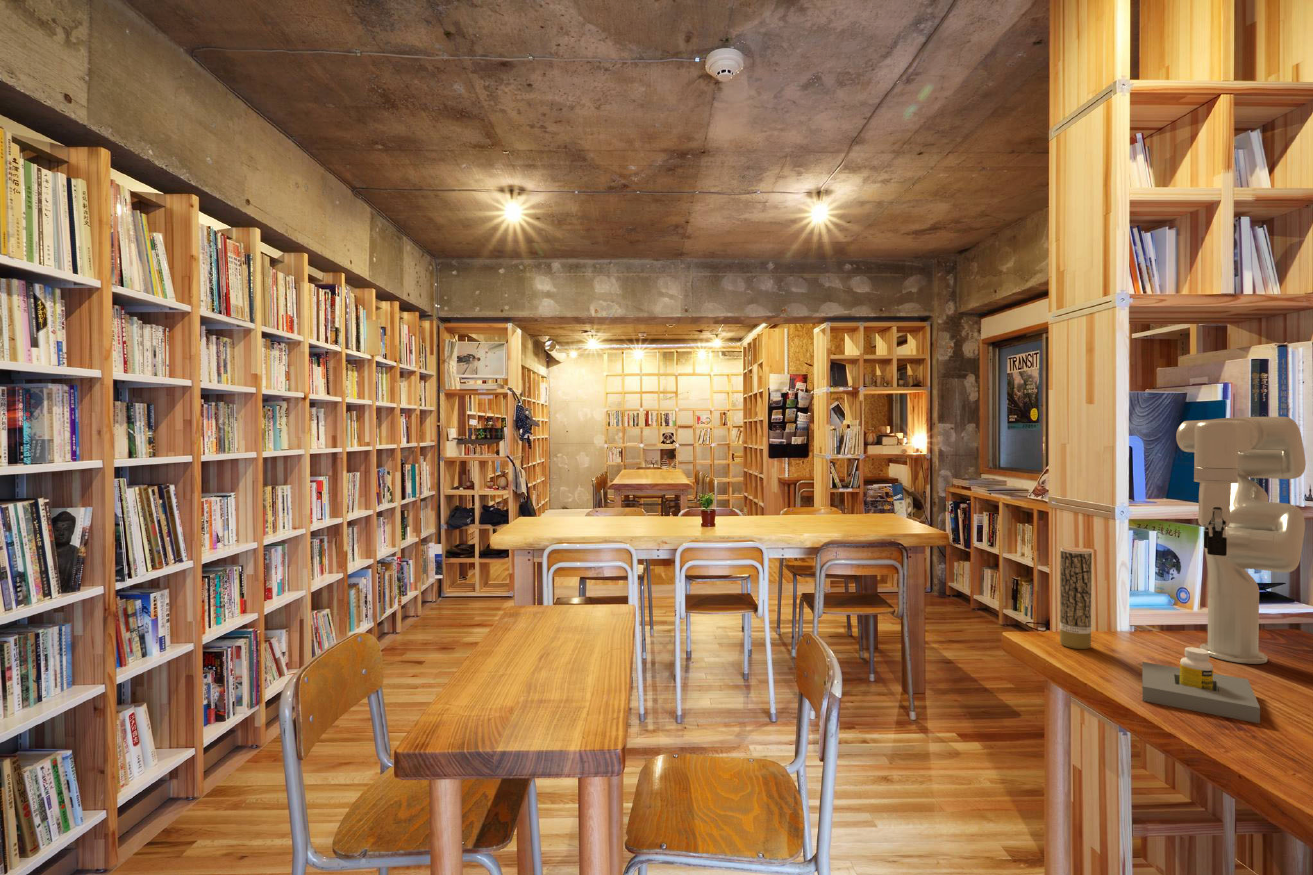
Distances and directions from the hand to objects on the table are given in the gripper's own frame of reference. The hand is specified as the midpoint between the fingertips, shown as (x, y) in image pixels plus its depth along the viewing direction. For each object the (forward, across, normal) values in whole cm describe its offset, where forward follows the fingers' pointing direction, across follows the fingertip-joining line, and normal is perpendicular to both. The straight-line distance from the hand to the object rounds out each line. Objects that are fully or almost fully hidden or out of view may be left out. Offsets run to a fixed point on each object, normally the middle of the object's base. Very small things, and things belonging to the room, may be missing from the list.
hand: (1214, 551), depth 150 cm
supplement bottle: (+28, +17, -4) cm, 33 cm away
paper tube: (+28, -7, -27) cm, 40 cm away
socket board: (+28, +17, -4) cm, 33 cm away
